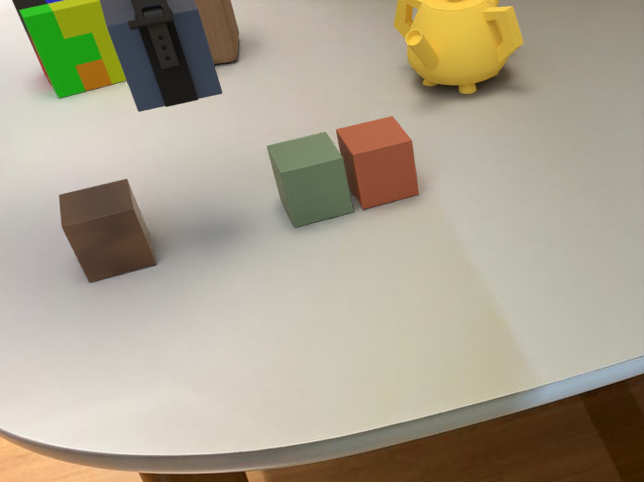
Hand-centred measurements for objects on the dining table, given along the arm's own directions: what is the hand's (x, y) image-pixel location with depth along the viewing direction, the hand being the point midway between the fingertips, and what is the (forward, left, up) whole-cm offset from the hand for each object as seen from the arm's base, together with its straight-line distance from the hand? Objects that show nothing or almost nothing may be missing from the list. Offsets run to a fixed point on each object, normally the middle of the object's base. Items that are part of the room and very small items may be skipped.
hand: (175, 84), depth 70 cm
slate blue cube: (0, 0, 0) cm, 0 cm away
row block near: (-7, -7, -14) cm, 17 cm away
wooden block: (-24, +39, -14) cm, 48 cm away
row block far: (+14, +9, -14) cm, 22 cm away
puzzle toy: (-36, +30, -14) cm, 49 cm away
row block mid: (+8, +5, -14) cm, 17 cm away
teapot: (+14, +37, -14) cm, 42 cm away
